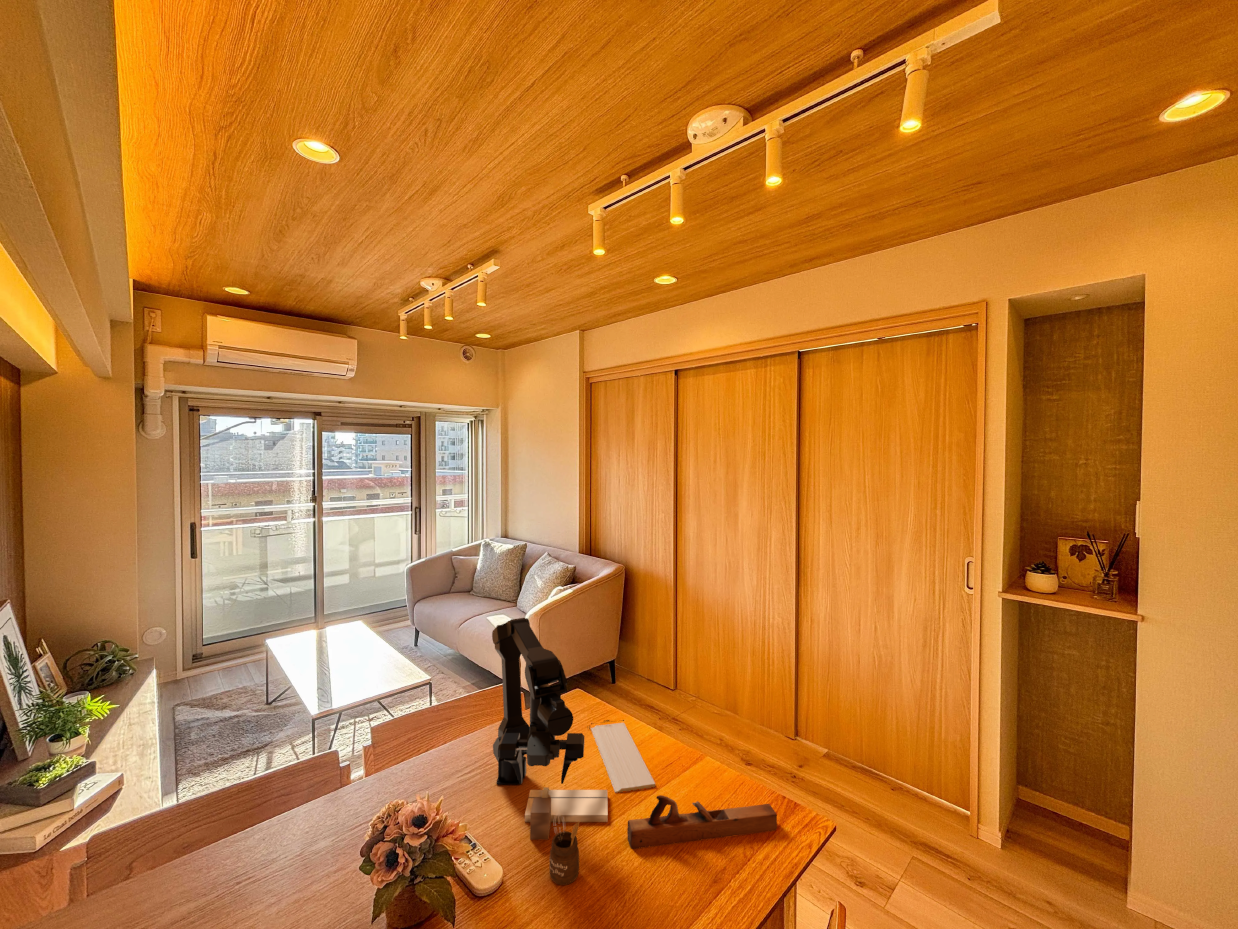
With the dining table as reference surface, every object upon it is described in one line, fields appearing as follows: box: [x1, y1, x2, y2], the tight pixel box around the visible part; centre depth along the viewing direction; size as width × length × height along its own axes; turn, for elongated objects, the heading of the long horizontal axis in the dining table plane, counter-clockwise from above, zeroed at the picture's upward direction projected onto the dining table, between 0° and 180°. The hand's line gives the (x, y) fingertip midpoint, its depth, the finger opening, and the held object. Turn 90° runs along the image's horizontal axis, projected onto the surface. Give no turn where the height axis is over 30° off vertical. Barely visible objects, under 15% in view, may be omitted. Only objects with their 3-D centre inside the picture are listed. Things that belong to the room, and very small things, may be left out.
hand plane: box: [626, 795, 778, 850], centre depth 117 cm, size 34×5×10 cm, turn 104°
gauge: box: [529, 787, 552, 841], centre depth 121 cm, size 4×13×6 cm, turn 2°
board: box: [524, 789, 609, 823], centre depth 124 cm, size 19×9×2 cm, turn 92°
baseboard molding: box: [588, 719, 656, 794], centre depth 146 cm, size 31×3×12 cm
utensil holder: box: [549, 814, 580, 886], centre depth 105 cm, size 6×6×12 cm
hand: (541, 782), depth 116 cm, fingers open, 9 cm apart
